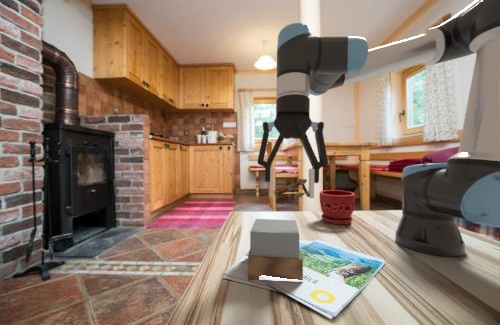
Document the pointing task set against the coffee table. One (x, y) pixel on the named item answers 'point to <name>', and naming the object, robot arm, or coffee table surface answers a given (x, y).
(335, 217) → the plant pot
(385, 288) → the coffee table surface
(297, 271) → the tower bottom
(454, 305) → the coffee table surface
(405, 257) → the coffee table surface
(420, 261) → the coffee table surface
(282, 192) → the wooden post with brackets
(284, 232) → the tower top
